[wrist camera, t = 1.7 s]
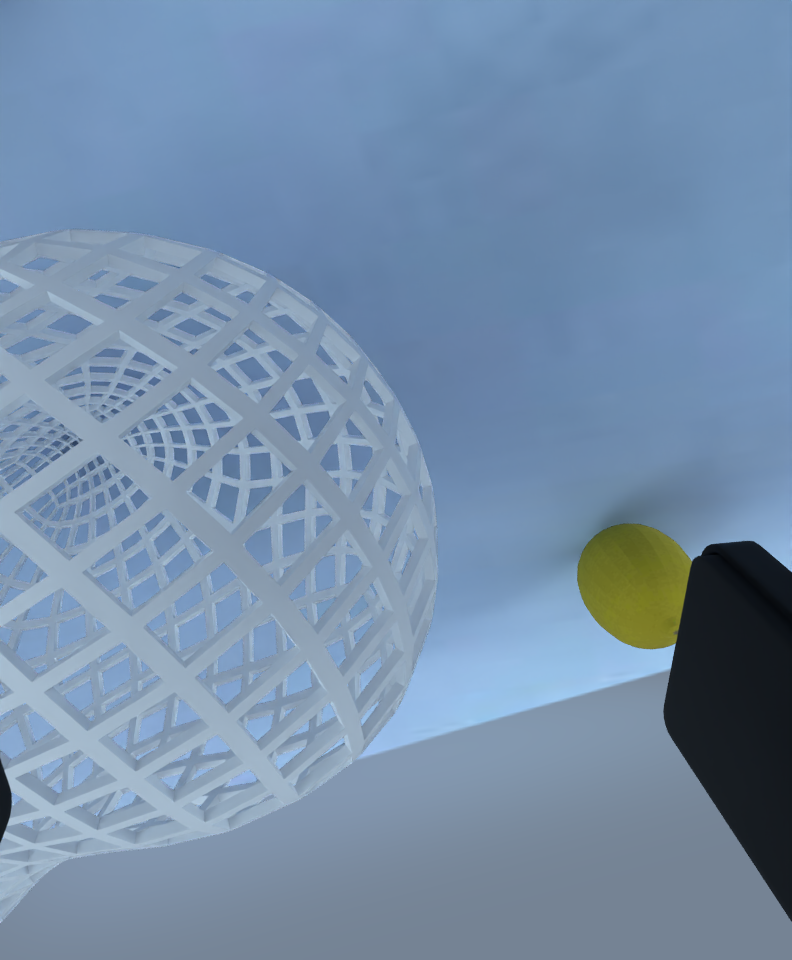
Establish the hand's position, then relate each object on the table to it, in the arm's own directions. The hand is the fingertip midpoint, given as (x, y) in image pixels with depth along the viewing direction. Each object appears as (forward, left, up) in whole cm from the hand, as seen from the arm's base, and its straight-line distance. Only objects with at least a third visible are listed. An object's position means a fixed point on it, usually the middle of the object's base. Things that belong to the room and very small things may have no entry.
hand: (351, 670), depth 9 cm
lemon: (-9, +19, -25) cm, 33 cm away
